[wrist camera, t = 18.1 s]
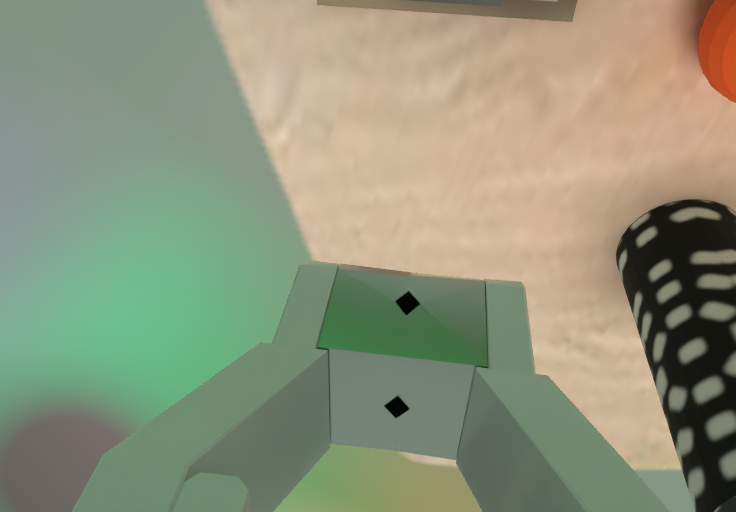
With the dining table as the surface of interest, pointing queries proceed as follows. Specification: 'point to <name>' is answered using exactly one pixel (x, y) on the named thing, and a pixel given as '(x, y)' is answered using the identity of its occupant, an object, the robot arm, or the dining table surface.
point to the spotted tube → (690, 335)
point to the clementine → (719, 47)
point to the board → (473, 7)
